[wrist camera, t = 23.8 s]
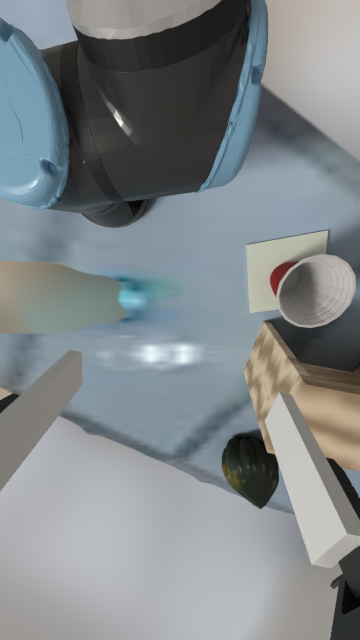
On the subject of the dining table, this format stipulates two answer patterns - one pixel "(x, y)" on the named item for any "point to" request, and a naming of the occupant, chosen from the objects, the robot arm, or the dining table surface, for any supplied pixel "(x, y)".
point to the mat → (277, 264)
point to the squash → (250, 470)
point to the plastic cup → (313, 289)
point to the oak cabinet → (307, 396)
